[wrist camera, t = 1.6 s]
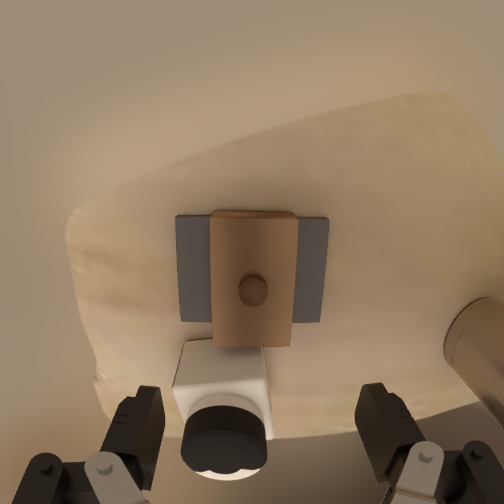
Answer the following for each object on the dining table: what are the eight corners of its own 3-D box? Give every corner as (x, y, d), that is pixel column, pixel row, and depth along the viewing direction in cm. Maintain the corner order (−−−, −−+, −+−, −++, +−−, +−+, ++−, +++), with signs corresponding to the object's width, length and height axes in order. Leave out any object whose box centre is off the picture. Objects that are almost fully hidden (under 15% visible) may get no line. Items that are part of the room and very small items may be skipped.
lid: (292, 212, 25) (301, 222, 21) (285, 327, 28) (291, 353, 24) (213, 211, 25) (208, 220, 21) (215, 327, 28) (211, 353, 24)
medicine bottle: (183, 340, 29) (157, 435, 17) (260, 330, 29) (270, 427, 17) (200, 396, 31) (187, 490, 19) (269, 389, 31) (280, 484, 19)
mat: (326, 217, 26) (329, 219, 25) (317, 317, 29) (319, 322, 28) (177, 215, 26) (175, 217, 25) (182, 316, 28) (180, 321, 27)
